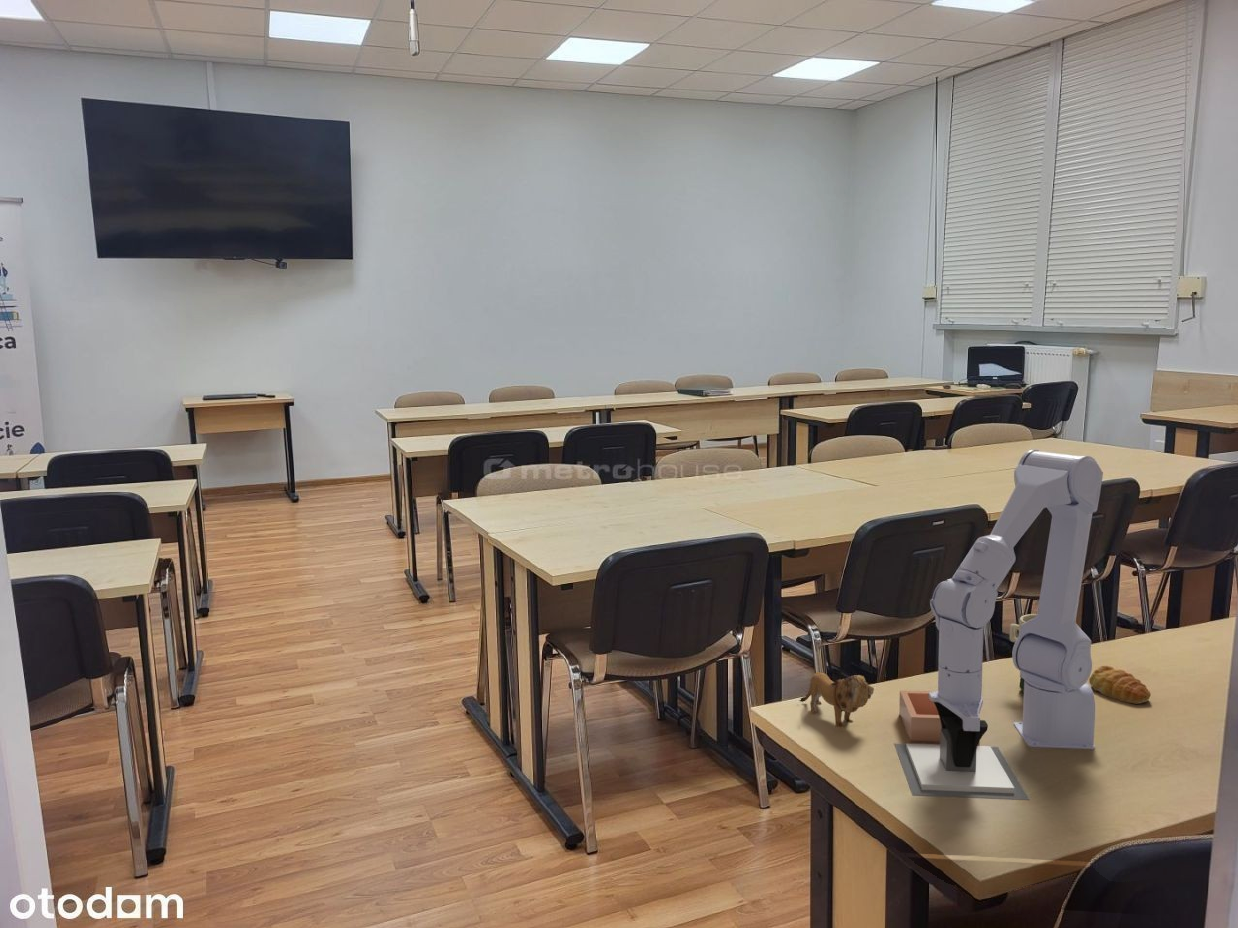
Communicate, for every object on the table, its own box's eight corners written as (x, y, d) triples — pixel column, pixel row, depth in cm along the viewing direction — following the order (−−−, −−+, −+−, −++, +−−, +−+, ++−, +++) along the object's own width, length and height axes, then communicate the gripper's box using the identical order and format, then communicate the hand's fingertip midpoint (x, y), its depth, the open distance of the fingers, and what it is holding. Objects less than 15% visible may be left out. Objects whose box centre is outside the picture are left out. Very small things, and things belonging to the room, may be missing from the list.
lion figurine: (878, 729, 141) (879, 675, 139) (855, 739, 138) (856, 684, 136) (809, 699, 153) (809, 649, 151) (787, 707, 150) (787, 656, 148)
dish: (963, 718, 144) (964, 692, 143) (979, 747, 134) (980, 719, 133) (899, 716, 145) (899, 690, 144) (910, 745, 135) (911, 717, 135)
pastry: (1161, 702, 148) (1162, 680, 147) (1130, 709, 146) (1131, 687, 145) (1113, 682, 156) (1114, 661, 156) (1083, 688, 154) (1084, 667, 154)
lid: (990, 751, 132) (991, 718, 131) (1014, 793, 120) (1015, 757, 119) (906, 748, 133) (906, 715, 133) (921, 789, 122) (922, 754, 121)
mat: (997, 749, 133) (997, 747, 133) (1029, 802, 118) (1029, 799, 118) (894, 746, 135) (894, 743, 135) (912, 797, 120) (912, 795, 120)
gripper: (920, 646, 132) (918, 732, 134) (941, 685, 118) (939, 781, 120) (970, 647, 131) (967, 734, 133) (997, 686, 117) (994, 783, 119)
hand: (957, 756), depth 126 cm, fingers open, 5 cm apart
